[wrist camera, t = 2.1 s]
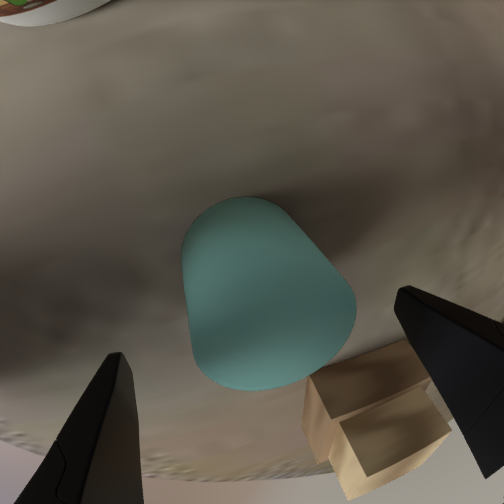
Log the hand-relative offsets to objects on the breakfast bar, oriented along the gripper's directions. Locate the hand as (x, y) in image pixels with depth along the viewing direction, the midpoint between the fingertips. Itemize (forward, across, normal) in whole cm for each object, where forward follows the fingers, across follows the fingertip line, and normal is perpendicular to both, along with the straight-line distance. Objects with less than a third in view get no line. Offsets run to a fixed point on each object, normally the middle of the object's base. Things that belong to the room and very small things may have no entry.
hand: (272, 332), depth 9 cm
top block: (+1, -7, +13) cm, 15 cm away
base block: (+5, -7, +13) cm, 16 cm away
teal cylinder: (+5, 0, 0) cm, 5 cm away
